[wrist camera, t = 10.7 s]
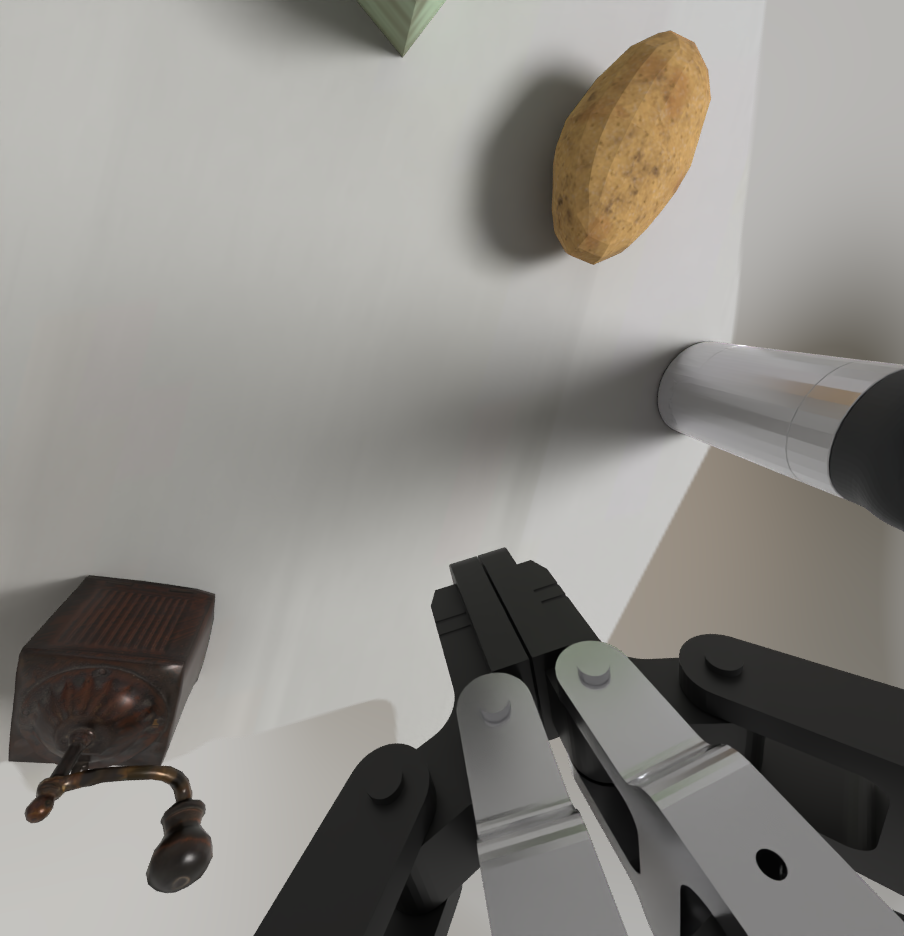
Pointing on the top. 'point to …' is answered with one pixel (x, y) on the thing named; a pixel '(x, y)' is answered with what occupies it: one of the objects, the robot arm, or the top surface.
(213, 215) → the top surface
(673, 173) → the potato
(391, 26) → the sage-green block
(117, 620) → the wooden coffee grinder
